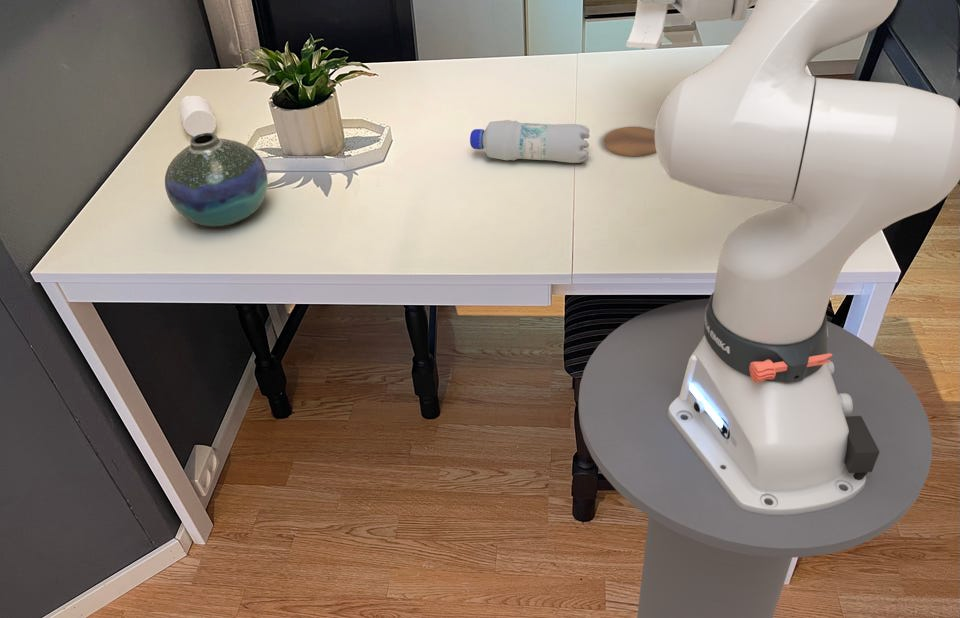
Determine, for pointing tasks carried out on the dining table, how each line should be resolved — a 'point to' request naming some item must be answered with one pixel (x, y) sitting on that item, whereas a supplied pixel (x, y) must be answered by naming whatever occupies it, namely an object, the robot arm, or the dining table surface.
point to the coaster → (631, 141)
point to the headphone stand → (648, 25)
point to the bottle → (532, 141)
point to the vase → (216, 181)
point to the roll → (196, 115)
